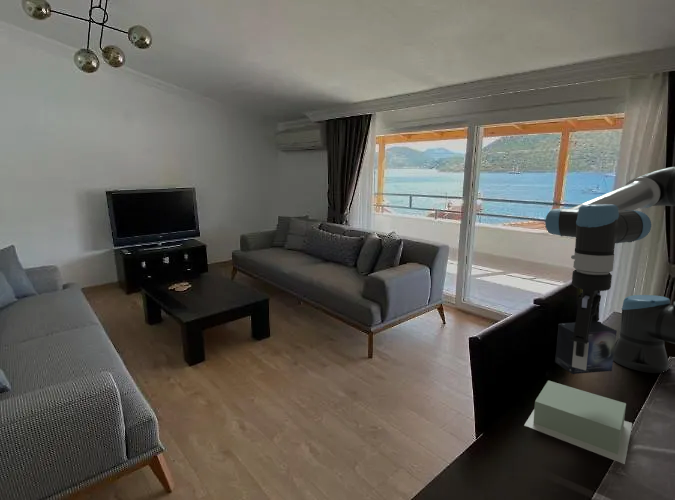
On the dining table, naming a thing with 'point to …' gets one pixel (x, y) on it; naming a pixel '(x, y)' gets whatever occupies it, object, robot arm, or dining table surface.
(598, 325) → the small box
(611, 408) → the base brick
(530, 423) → the baseplate
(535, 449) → the dining table surface
